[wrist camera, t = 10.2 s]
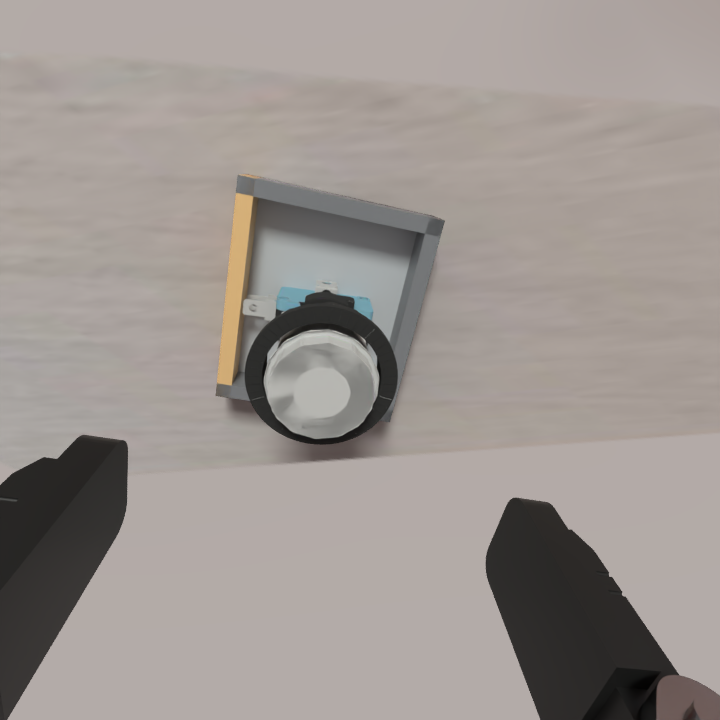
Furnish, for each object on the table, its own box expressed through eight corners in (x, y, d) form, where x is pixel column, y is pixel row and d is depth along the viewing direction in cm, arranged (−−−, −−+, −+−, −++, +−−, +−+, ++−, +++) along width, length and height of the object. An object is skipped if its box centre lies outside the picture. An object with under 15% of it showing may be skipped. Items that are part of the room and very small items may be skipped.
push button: (245, 344, 24) (195, 449, 15) (251, 245, 22) (197, 298, 13) (364, 358, 25) (386, 467, 16) (381, 265, 23) (417, 327, 14)
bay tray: (433, 216, 23) (444, 220, 21) (384, 401, 27) (389, 422, 25) (246, 174, 21) (237, 174, 19) (225, 376, 26) (215, 395, 23)
